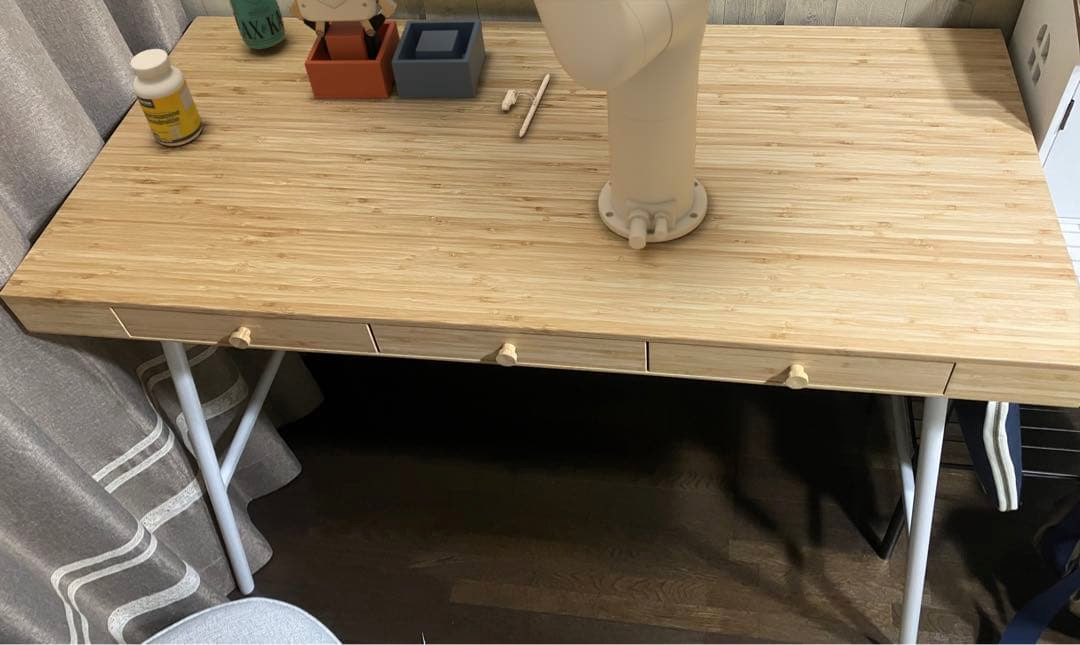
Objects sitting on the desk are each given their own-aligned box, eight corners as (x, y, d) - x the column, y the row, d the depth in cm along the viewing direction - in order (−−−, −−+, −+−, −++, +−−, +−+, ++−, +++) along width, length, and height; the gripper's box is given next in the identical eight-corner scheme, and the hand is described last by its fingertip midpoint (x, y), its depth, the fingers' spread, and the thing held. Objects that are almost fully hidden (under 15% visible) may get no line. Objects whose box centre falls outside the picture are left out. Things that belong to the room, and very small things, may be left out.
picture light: (523, 139, 129) (521, 125, 127) (490, 136, 130) (488, 122, 128) (551, 76, 138) (550, 63, 136) (521, 74, 139) (519, 60, 137)
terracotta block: (368, 68, 137) (360, 36, 134) (333, 69, 138) (324, 36, 135) (376, 48, 141) (369, 16, 137) (342, 48, 142) (333, 16, 138)
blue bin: (474, 97, 136) (468, 61, 132) (399, 98, 137) (391, 62, 133) (485, 54, 143) (480, 19, 139) (414, 55, 144) (407, 20, 140)
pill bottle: (146, 142, 135) (111, 68, 127) (176, 115, 139) (145, 41, 131) (183, 152, 133) (151, 77, 125) (213, 124, 137) (184, 49, 128)
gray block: (457, 82, 138) (451, 50, 134) (421, 82, 138) (415, 51, 135) (463, 61, 141) (458, 30, 137) (428, 62, 142) (422, 30, 138)
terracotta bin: (387, 98, 137) (379, 62, 133) (314, 98, 139) (304, 63, 135) (403, 55, 144) (395, 20, 140) (333, 56, 146) (324, 21, 142)
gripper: (248, -53, 125) (288, 73, 138) (382, -57, 122) (409, 72, 136) (266, -82, 130) (303, 42, 143) (395, -86, 127) (420, 41, 141)
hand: (354, 55), depth 139 cm, fingers closed on terracotta block, 5 cm apart
